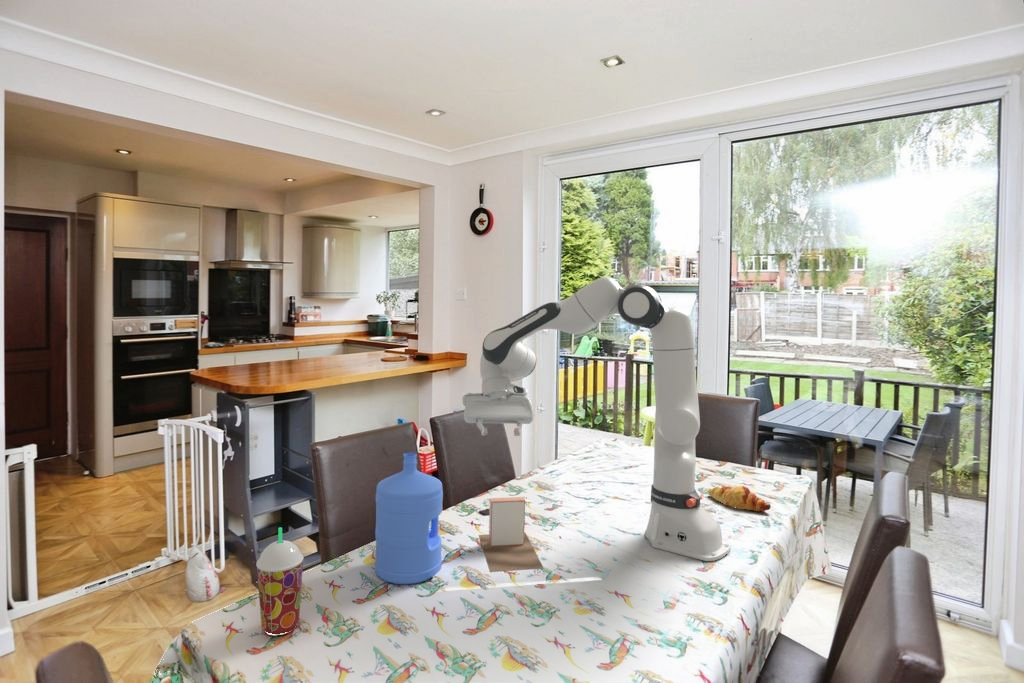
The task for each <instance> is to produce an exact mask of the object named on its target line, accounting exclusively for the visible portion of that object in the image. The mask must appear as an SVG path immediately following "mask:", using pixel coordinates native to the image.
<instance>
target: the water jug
mask: <svg viewBox="0 0 1024 683" xmlns="http://www.w3.org/2000/svg"><path fill="white" fill-rule="evenodd" d="M402 456H403V461H402V464H403V468H402V470H401V471H400V472H397V473H395V474H392V475H390V476H388V477H386V478H384V479H382V480H380V481H379V482H378V483H377V485H376V487H375V488H376V492H375V510H376V511H375V534H374V538H375V561H374V570H375V573H376V575H377V576H378V578H380V579H382V581H385V582H387V583H391V584H396V585H412V584H418V583H423V582H425V581H429V580H430V579H432V578H433V577H434V576H435V575H437V573H439V572H440V571H441V570H442V569H441V568H442V564H443V560H442V559H443V557H442V537H441V535H440V534H439V518H440V516H441V514H442V512H443V499H444V492H443V491H444V490H443V482H442V481H441V480H440V479H438V478H437V477H435V476H433V475H430V474H427V473H425V472H421V471H419V470H418V469H417V465H418V461H417V456H418V454H417V453H416V452H405V453H403V455H402Z"/></svg>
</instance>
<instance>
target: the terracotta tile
mask: <svg viewBox="0 0 1024 683" xmlns="http://www.w3.org/2000/svg"><path fill="white" fill-rule="evenodd" d="M489 508H490V512H489V516H488V517H489V520H488V522H489V524H488V534H489V545H490V547H495V546H512V545H524V533H525V524H526V523H525V522H526V521H525V520H526V518H525V517H526V499H525V497H524V496H516V497H514V496H513V497H495V498H494V497H493V498H492V497H491V498H489Z"/></svg>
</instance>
